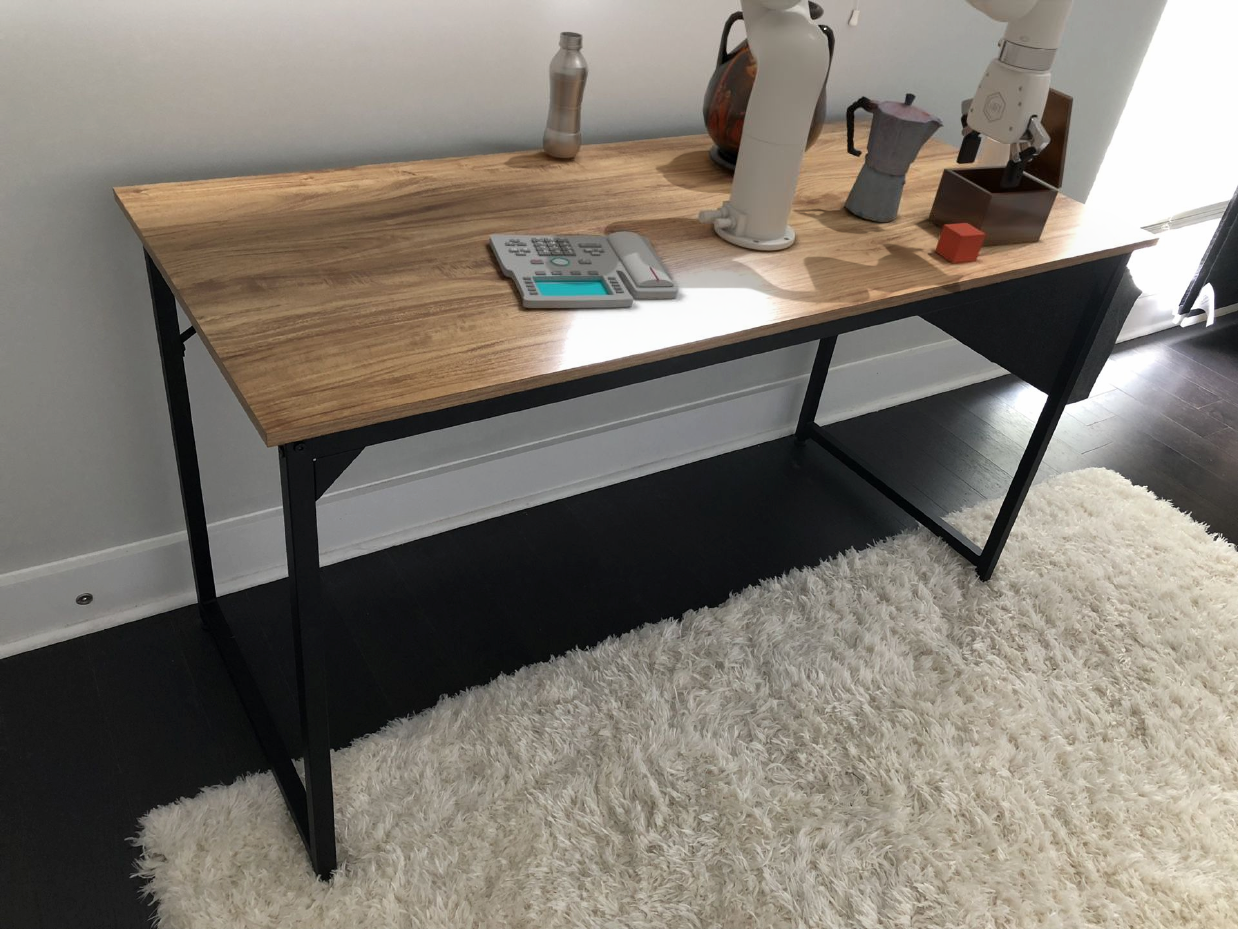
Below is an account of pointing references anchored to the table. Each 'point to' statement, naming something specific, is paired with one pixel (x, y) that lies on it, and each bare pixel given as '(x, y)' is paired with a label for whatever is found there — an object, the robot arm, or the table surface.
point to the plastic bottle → (566, 97)
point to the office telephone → (583, 269)
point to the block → (960, 242)
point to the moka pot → (886, 154)
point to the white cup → (993, 153)
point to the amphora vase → (746, 95)
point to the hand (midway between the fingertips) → (986, 174)
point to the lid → (1052, 140)
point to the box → (993, 204)
